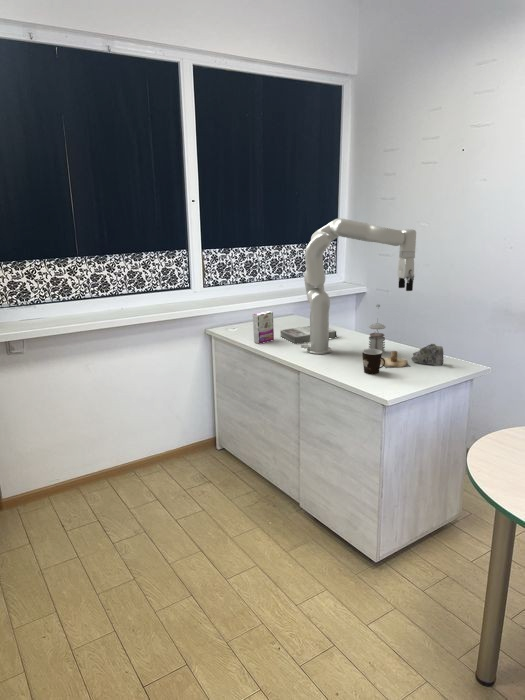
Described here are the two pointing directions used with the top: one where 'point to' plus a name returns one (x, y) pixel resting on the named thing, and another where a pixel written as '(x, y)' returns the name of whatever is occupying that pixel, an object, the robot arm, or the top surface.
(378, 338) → the french press
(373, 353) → the coffee mug
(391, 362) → the lid
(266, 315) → the candy bar box
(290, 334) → the flat grey box
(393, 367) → the mat
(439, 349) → the mineral rock
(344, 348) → the top surface
